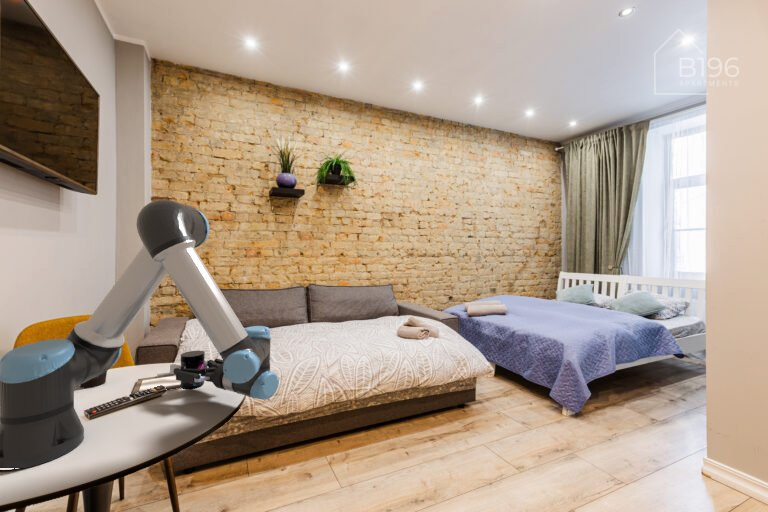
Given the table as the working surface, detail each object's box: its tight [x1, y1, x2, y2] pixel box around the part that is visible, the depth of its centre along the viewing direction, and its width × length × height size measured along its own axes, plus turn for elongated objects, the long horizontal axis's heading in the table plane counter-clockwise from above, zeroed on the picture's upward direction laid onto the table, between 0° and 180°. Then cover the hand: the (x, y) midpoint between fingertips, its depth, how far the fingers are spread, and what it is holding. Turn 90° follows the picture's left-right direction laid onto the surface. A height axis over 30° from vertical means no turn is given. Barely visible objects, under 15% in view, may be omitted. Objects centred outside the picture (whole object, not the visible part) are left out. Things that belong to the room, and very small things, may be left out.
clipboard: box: [132, 371, 181, 394], centre depth 115 cm, size 14×16×2 cm
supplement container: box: [180, 350, 206, 391], centre depth 108 cm, size 7×7×10 cm
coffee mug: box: [79, 371, 108, 389], centre depth 114 cm, size 12×9×10 cm
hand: (182, 364), depth 111 cm, fingers closed on supplement container, 7 cm apart
